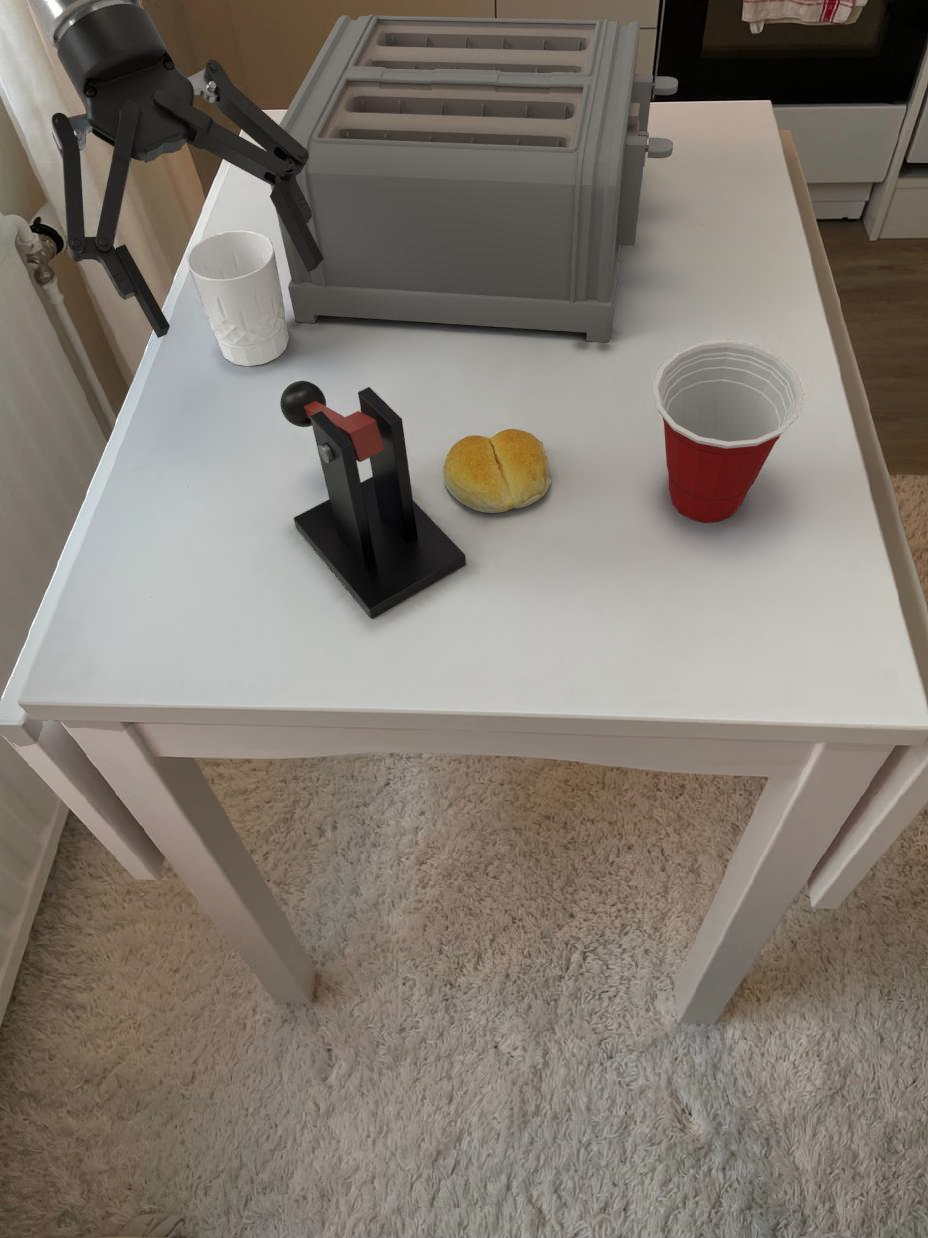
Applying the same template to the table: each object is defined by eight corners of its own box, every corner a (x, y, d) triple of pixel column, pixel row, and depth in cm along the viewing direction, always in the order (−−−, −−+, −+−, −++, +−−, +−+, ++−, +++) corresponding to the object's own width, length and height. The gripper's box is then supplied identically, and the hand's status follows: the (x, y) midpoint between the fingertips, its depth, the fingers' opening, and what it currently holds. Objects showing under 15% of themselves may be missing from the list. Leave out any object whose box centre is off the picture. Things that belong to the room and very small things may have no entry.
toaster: (649, 345, 91) (673, 169, 77) (293, 321, 96) (255, 152, 82) (664, 175, 109) (685, 7, 95) (362, 162, 114) (340, 0, 100)
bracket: (295, 527, 80) (258, 399, 69) (386, 479, 82) (364, 348, 71) (371, 619, 74) (344, 495, 62) (466, 564, 76) (456, 436, 65)
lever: (282, 428, 78) (266, 387, 76) (320, 409, 79) (306, 369, 77) (354, 474, 68) (337, 429, 66) (396, 452, 69) (381, 407, 67)
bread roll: (438, 457, 84) (434, 422, 81) (538, 441, 84) (538, 406, 81) (452, 525, 79) (449, 491, 76) (558, 509, 79) (560, 474, 76)
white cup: (311, 339, 94) (291, 248, 86) (252, 381, 91) (226, 290, 83) (257, 310, 98) (234, 220, 90) (198, 350, 94) (168, 259, 86)
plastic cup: (615, 518, 79) (628, 406, 69) (670, 438, 84) (689, 323, 74) (740, 568, 75) (773, 457, 65) (790, 480, 80) (826, 365, 70)
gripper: (-73, 55, 64) (96, 350, 68) (256, -48, 71) (388, 223, 76) (-58, 107, 71) (94, 372, 75) (240, 8, 78) (361, 253, 83)
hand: (242, 298), depth 75 cm, fingers open, 13 cm apart
